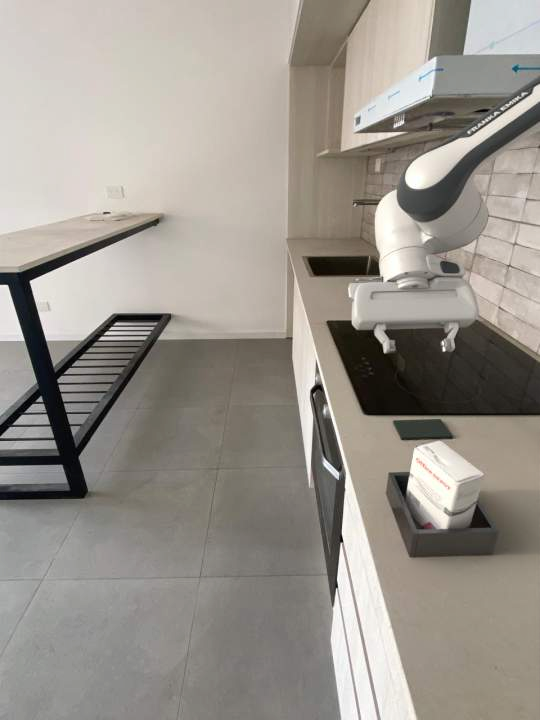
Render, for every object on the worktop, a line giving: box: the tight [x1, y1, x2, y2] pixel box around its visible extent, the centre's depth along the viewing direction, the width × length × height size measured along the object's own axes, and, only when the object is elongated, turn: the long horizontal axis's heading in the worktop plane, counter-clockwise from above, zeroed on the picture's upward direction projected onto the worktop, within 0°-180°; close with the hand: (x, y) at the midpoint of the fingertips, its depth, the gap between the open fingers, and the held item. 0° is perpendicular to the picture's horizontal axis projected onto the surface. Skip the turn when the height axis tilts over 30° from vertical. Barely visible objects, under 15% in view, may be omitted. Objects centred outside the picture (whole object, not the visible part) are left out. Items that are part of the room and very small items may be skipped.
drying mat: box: [392, 418, 454, 441], centre depth 80 cm, size 10×6×1 cm, turn 90°
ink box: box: [404, 439, 485, 529], centre depth 57 cm, size 9×5×12 cm, turn 22°
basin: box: [385, 471, 500, 558], centre depth 58 cm, size 11×12×4 cm
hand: (419, 351), depth 63 cm, fingers open, 8 cm apart
